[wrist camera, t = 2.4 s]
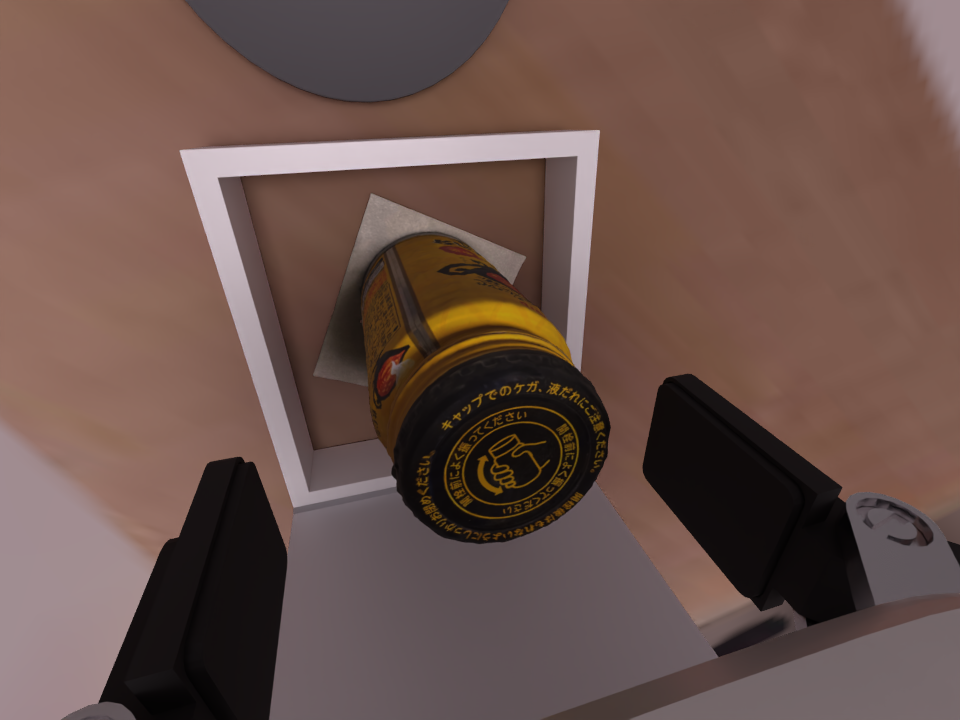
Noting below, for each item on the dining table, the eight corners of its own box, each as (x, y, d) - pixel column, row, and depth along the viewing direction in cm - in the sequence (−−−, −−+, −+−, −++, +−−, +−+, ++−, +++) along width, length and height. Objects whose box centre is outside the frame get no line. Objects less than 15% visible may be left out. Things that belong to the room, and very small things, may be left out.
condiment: (524, 255, 21) (700, 381, 10) (456, 406, 23) (540, 623, 13) (370, 192, 18) (401, 279, 8) (313, 372, 21) (277, 616, 10)
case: (550, 431, 26) (751, 732, 13) (304, 479, 23) (248, 926, 10) (564, 130, 19) (1056, 134, 6) (206, 146, 16) (-434, 228, 3)
